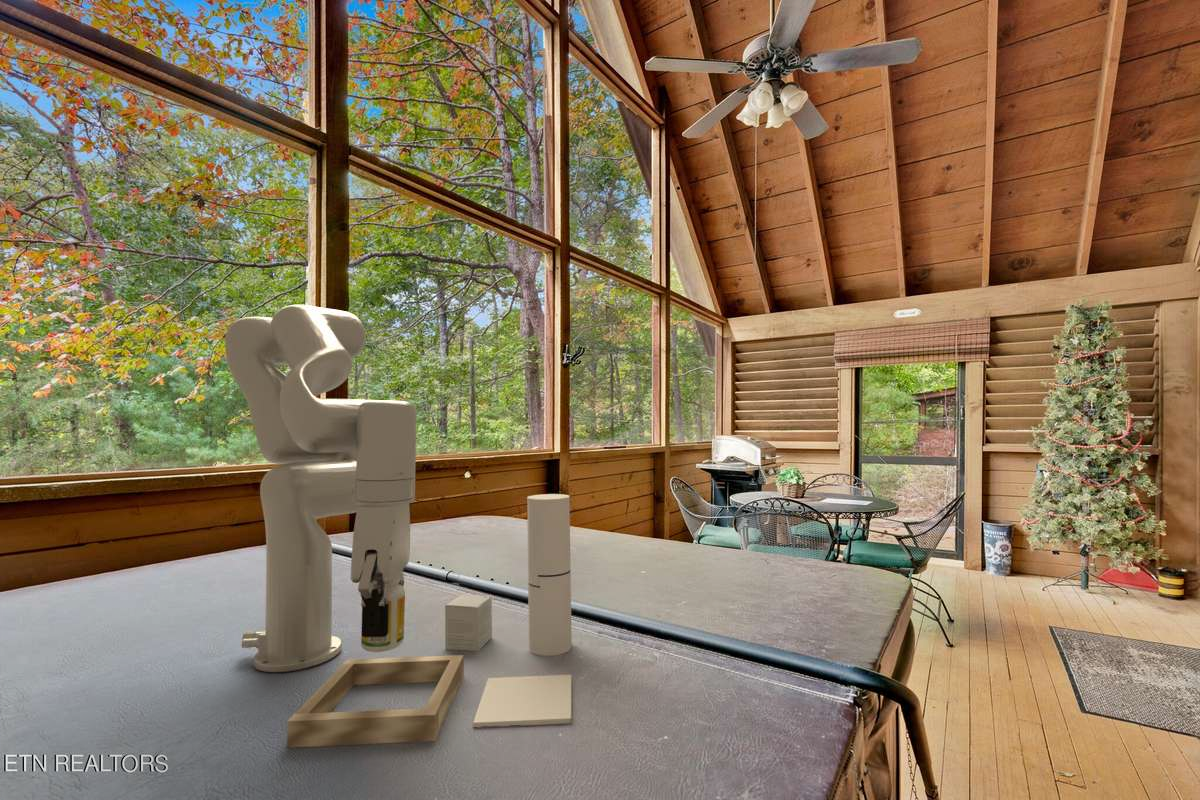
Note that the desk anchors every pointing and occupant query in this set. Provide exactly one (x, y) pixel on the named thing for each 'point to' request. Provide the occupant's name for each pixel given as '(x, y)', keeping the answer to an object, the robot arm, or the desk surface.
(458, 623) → the product box
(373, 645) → the supplement bottle
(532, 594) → the cylindrical container
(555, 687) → the pad
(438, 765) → the desk surface
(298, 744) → the wooden square frame
